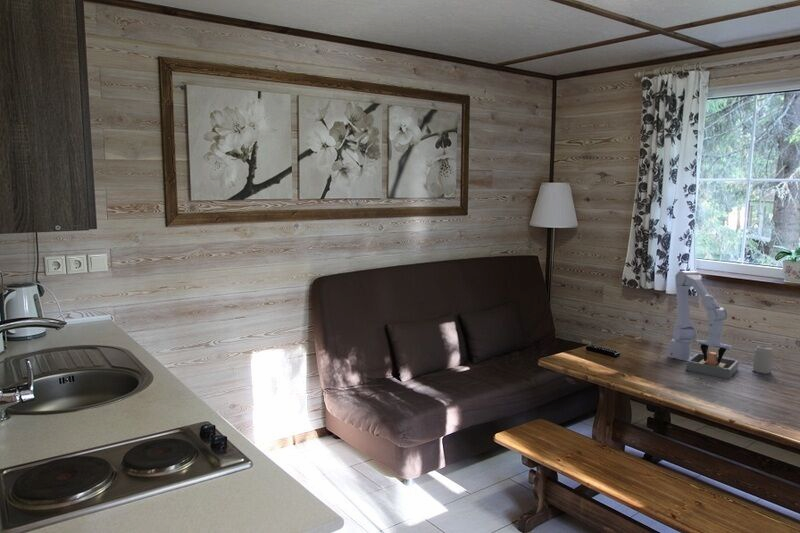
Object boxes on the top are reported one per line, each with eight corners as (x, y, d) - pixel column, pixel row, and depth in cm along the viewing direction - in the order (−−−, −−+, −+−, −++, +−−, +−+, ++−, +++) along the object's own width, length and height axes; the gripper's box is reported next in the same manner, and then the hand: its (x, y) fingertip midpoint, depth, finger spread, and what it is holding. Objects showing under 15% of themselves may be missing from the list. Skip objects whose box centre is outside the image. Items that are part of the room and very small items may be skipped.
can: (766, 369, 281) (768, 345, 279) (774, 374, 274) (777, 349, 272) (749, 368, 282) (752, 344, 280) (757, 374, 275) (760, 348, 273)
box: (686, 370, 278) (687, 360, 277) (696, 361, 291) (697, 352, 291) (729, 379, 266) (730, 369, 266) (737, 369, 280) (738, 360, 279)
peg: (705, 369, 277) (706, 354, 275) (707, 366, 280) (708, 351, 278) (714, 372, 274) (716, 356, 272) (717, 368, 277) (718, 353, 275)
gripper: (695, 332, 276) (692, 360, 278) (730, 338, 267) (727, 367, 269) (699, 329, 281) (696, 357, 284) (733, 335, 272) (730, 363, 274)
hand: (711, 362), depth 277 cm, fingers open, 5 cm apart
